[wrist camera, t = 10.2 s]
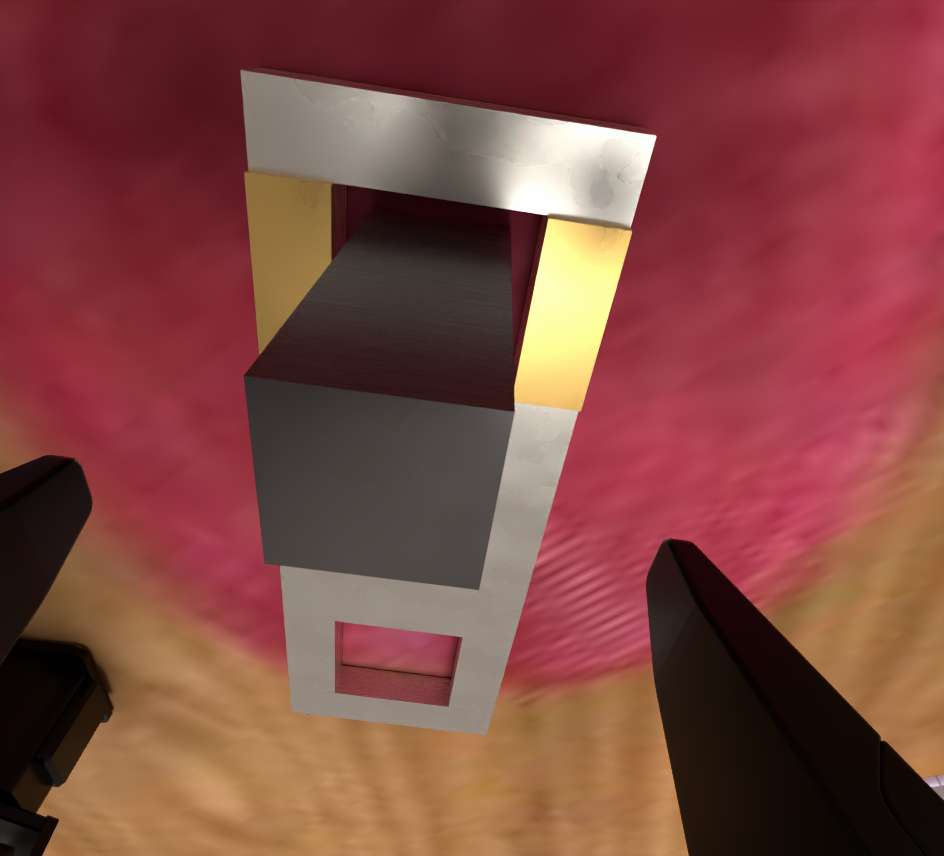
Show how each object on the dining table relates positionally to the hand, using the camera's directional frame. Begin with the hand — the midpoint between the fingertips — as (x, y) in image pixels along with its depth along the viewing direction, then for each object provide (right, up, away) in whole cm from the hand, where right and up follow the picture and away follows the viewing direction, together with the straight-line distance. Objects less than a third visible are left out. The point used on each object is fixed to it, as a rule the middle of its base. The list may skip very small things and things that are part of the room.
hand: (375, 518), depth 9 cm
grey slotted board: (-1, -1, +14) cm, 14 cm away
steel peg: (0, +6, +9) cm, 11 cm away
